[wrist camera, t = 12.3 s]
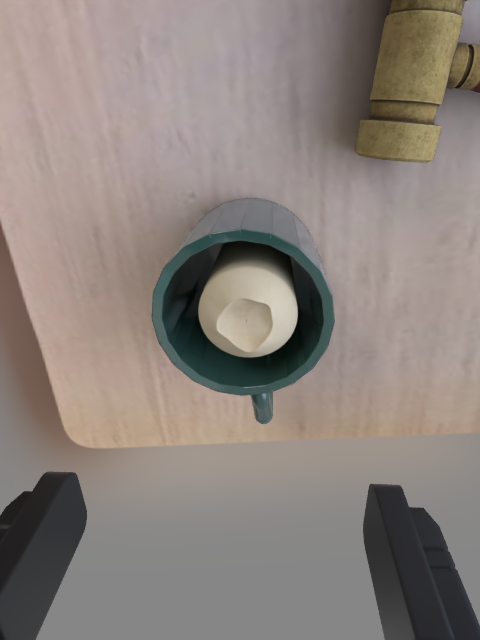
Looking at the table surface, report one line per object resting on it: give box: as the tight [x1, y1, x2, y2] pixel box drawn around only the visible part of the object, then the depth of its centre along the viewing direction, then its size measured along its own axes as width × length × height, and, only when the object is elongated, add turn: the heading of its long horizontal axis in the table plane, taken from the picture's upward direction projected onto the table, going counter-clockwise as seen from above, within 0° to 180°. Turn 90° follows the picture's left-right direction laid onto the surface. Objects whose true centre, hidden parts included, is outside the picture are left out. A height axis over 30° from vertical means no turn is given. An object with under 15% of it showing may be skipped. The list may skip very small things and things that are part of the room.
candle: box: [198, 240, 298, 357], centre depth 26 cm, size 6×6×10 cm
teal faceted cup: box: [152, 198, 335, 424], centre depth 28 cm, size 14×10×10 cm
